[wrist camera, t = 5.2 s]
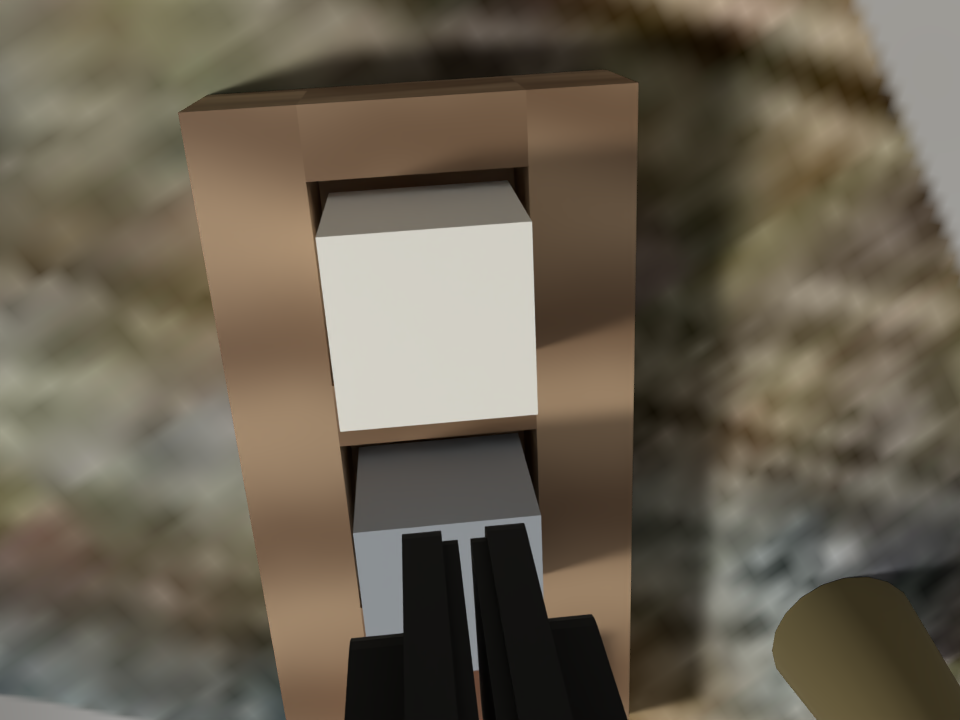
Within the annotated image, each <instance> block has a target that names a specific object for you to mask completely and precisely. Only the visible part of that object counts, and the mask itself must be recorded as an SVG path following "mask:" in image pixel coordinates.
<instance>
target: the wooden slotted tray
mask: <svg viewBox="0 0 960 720" xmlns="http://www.w3.org/2000/svg"><path fill="white" fill-rule="evenodd" d="M178 115H179V120H180V126H181V131H182V137H183V143H184V148H185V154H186V159H187V165H188V171H189V176H190V182H191V188H192V193H193V199H194V204H195V210H196V216H197V221H198V227H199V233H200V238H201V244H202V249H203V255H204V261H205V266H206V272H207V278H208V283H209V289H210V294H211V300H212V306H213V311H214V317H215V322H216V328H217V334H218V339H219V345H220V351H221V356H222V362H223V367H224V373H225V379H226V384H227V390H228V396H229V401H230V407H231V412H232V418H233V424H234V429H235V435H236V440H237V446H238V452H239V457H240V463H241V469H242V474H243V480H244V485H245V491H246V497H247V502H248V508H249V514H250V519H251V525H252V530H253V536H254V542H255V547H256V553H257V558H258V564H259V570H260V575H261V581H262V587H263V592H264V598H265V603H266V609H267V615H268V620H269V626H270V632H271V637H272V643H273V648H274V654H275V660H276V665H277V671H278V677H279V682H280V688H281V693H282V699H283V705H284V710H285V716H286V720H344V717H345V702H346V687H347V671H348V656H349V645H350V640H351V638H358V637H366V632H365V624H364V616H363V608H362V600H361V592H360V584H359V577H358V569H357V561H356V553H355V545H354V537H353V526H354V512H355V497H356V483H357V469H358V454H359V447H366V446H377V445H388V444H399V443H411V442H422V441H433V440H444V439H455V438H467V437H478V436H489V435H500V434H511V433H518V435H519V439H520V442H521V446H522V449H523V453H524V456H525V460H526V464H527V467H528V471H529V474H530V478H531V481H532V485H533V488H534V492H535V496H536V499H537V503H538V506H539V510H540V513H541V530H542V562H543V595H544V603H545V607H546V611H547V616H548V618H557V617H567V616H577V615H586V614H592V615H593V616H594V618H595V621H596V623H597V626H598V629H599V632H600V635H601V638H602V641H603V644H604V647H605V651H606V654H607V657H608V660H609V663H610V666H611V669H612V672H613V676H614V679H615V682H616V685H617V688H618V691H619V694H620V697H621V700H622V704H623V707H624V710H625V713H626V716H627V719H628V720H629V678H630V612H631V546H632V480H633V413H634V347H635V281H636V215H637V149H638V82H636V81H633V80H631V79H628V78H626V77H623V76H621V75H618V74H616V73H613V72H610V71H608V70H590V71H575V72H559V73H543V74H528V75H512V76H497V77H481V78H465V79H450V80H434V81H419V82H403V83H387V84H372V85H356V86H341V87H325V88H309V89H294V90H278V91H262V92H247V93H231V94H216V95H207V96H205V97H203V98H202V99H200V100H198V101H197V102H195V103H193V104H192V105H190V106H188V107H187V108H185V109H183V110H182V111H180V112H178ZM503 180H508V182H509V183H510V185H511V187H512V189H513V190H514V192H515V194H516V195H517V197H518V199H519V200H520V202H521V204H522V205H523V207H524V209H525V210H526V212H527V214H528V216H529V217H530V219H531V221H532V237H533V270H534V302H535V335H536V367H537V400H538V414H537V415H526V416H514V417H503V418H492V419H480V420H469V421H458V422H446V423H435V424H424V425H412V426H401V427H390V428H378V429H367V430H355V431H344V432H340V427H339V419H338V411H337V403H336V395H335V388H334V380H333V372H332V364H331V356H330V348H329V340H328V332H327V324H326V317H325V309H324V301H323V293H322V285H321V277H320V269H319V261H318V254H317V246H316V238H315V237H316V234H317V231H318V227H319V224H320V221H321V217H322V214H323V211H324V207H325V204H326V201H327V197H328V194H329V193H335V192H349V191H363V190H377V189H391V188H405V187H419V186H433V185H447V184H461V183H475V182H489V181H503Z"/></svg>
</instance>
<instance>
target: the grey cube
mask: <svg viewBox="0 0 960 720" xmlns="http://www.w3.org/2000/svg"><path fill="white" fill-rule="evenodd" d="M515 523H524V524H525V527H526V530H527V534H528V538H529V542H530V547H531V551H532V555H533V559H534V563H535V567H536V571H537V575H538V579H539V583H540V587H541V591H542V595H543V562H542V530H541V513H540V510H539V506H538V503H537V499H536V496H535V492H534V488H533V485H532V481H531V478H530V474H529V471H528V467H527V464H526V460H525V456H524V453H523V449H522V446H521V442H520V439H519V435H518V433H511V434H500V435H489V436H478V437H467V438H455V439H444V440H433V441H422V442H411V443H399V444H388V445H377V446H366V447H359V454H358V469H357V483H356V497H355V512H354V526H353V537H354V545H355V553H356V561H357V569H358V577H359V584H360V592H361V600H362V608H363V616H364V624H365V632H366V637H368V636H378V635H388V634H398V633H403V582H402V534H409V533H419V532H430V531H441V534H442V541H449V540H458V545H459V554H460V562H461V571H462V579H463V588H464V596H465V604H466V613H467V621H468V630H469V638H470V647H471V655H472V664H473V671H476V670H479V666H478V651H477V636H476V621H475V606H474V591H473V575H472V560H471V545H470V538H480V537H485V526H494V525H505V524H515ZM543 599H544V595H543Z"/></svg>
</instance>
